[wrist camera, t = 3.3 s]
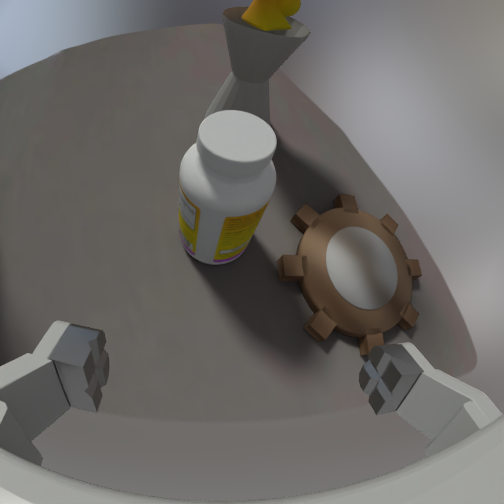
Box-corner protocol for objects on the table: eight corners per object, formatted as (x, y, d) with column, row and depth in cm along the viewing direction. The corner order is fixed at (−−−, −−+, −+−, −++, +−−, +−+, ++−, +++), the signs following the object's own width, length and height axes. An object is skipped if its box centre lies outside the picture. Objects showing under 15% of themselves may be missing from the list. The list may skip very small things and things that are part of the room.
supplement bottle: (257, 220, 29) (304, 125, 17) (234, 278, 26) (278, 196, 14) (196, 195, 28) (211, 90, 17) (166, 249, 25) (159, 149, 14)
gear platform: (371, 388, 24) (381, 388, 22) (240, 269, 26) (244, 263, 24) (429, 271, 32) (438, 267, 30) (334, 177, 34) (340, 169, 32)
